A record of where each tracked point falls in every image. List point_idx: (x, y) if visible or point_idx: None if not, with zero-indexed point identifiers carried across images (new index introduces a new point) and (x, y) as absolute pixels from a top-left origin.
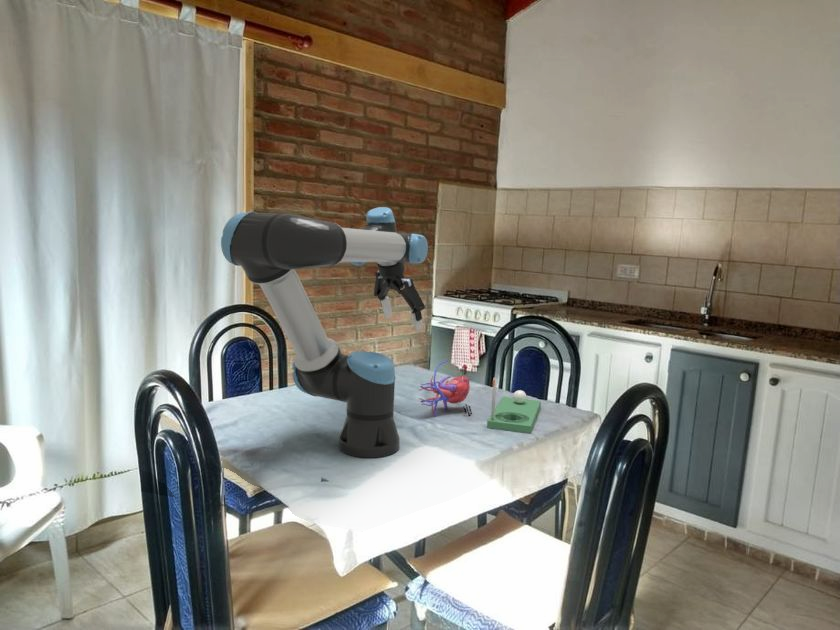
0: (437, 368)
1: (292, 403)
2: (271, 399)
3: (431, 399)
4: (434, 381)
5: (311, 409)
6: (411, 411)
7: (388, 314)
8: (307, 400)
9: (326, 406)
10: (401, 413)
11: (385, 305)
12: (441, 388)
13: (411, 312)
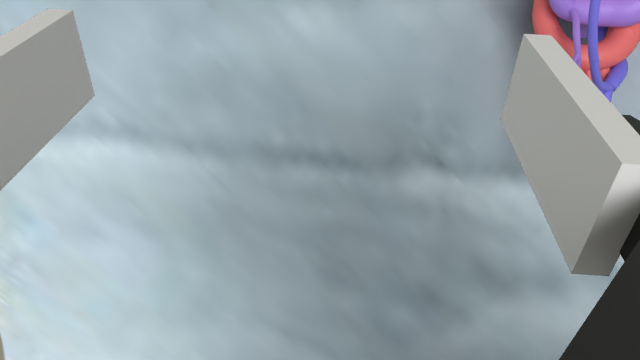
0: (597, 25)
1: (140, 340)
2: (72, 354)
3: None
4: (600, 86)
5: (223, 343)
6: (466, 122)
7: (68, 75)
8: (140, 289)
9: (226, 291)
10: (455, 168)
11: (2, 147)
12: (587, 25)
13: (573, 265)
